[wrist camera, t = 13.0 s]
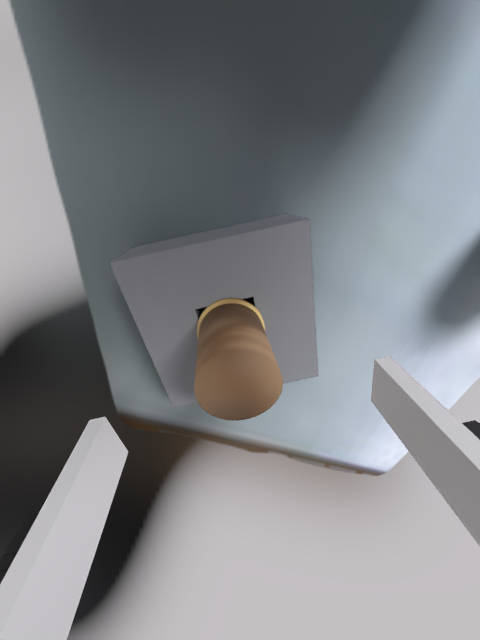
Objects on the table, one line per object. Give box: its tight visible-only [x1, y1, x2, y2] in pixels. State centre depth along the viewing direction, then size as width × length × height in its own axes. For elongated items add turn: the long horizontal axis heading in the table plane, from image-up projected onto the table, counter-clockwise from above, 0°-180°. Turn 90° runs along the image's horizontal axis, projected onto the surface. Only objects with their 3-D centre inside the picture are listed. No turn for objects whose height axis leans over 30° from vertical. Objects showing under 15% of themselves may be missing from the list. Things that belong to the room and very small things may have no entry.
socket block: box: [109, 214, 318, 408], centre depth 23 cm, size 14×14×6 cm
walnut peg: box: [194, 298, 283, 420], centre depth 20 cm, size 5×5×13 cm
